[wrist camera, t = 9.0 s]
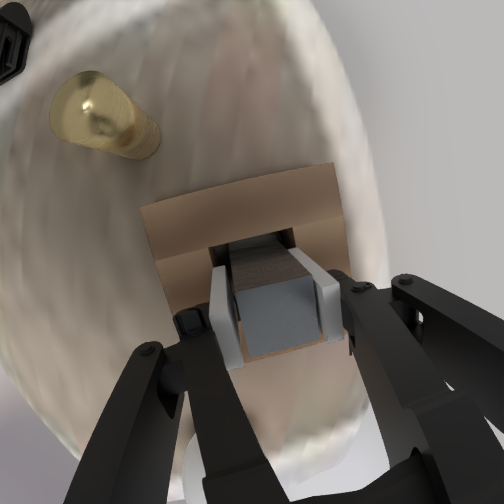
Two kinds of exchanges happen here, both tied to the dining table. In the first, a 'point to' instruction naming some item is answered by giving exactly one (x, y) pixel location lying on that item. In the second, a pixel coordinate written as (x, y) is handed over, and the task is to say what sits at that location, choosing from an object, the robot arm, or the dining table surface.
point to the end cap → (13, 40)
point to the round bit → (102, 117)
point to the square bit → (272, 295)
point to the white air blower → (193, 473)
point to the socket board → (245, 230)
